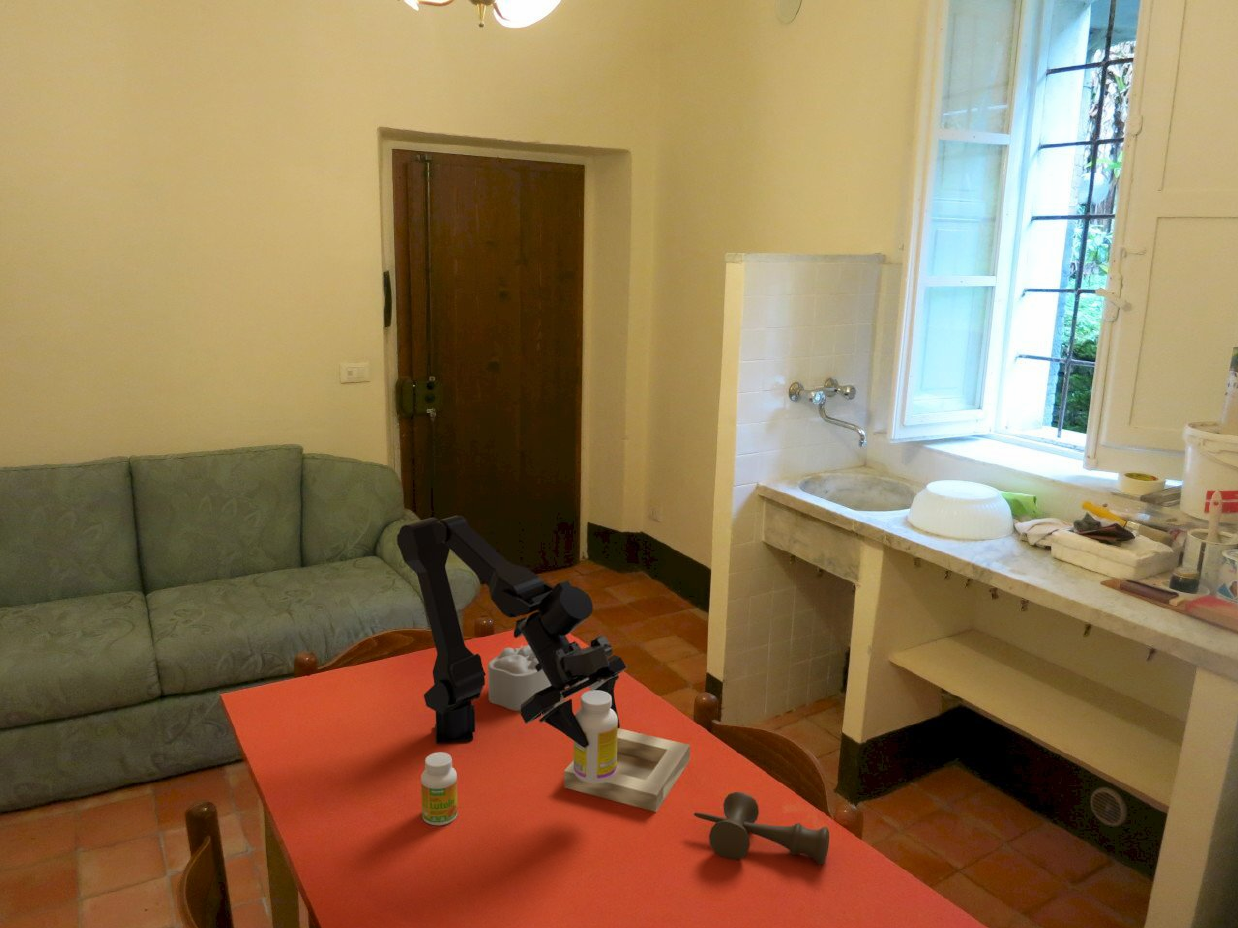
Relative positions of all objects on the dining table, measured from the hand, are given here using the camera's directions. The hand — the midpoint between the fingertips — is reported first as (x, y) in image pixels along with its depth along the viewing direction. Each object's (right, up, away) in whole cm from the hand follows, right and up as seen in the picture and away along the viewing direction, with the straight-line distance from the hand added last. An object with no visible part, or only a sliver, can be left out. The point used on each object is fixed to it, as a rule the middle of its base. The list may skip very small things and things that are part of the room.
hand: (602, 737), depth 141 cm
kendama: (+23, -15, -3) cm, 28 cm away
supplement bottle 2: (-1, -6, +3) cm, 7 cm away
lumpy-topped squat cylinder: (-16, -4, +41) cm, 44 cm away
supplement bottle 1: (-25, -13, +2) cm, 28 cm away
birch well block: (+4, -10, +14) cm, 18 cm away
